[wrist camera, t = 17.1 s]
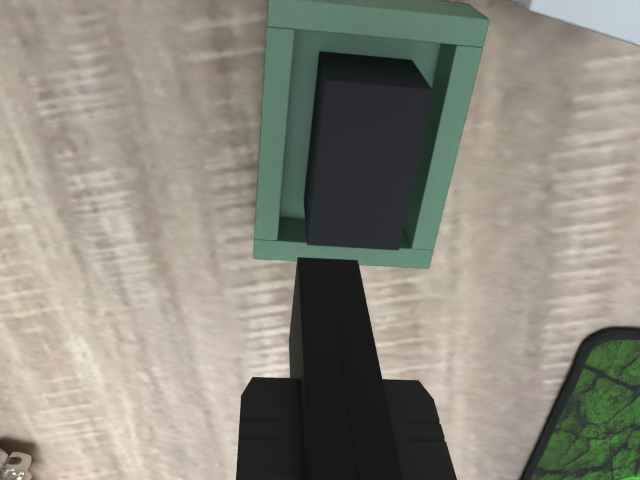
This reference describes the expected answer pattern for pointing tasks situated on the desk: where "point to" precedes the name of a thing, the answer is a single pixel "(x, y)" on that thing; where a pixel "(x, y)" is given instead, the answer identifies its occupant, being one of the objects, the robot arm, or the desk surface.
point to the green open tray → (298, 99)
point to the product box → (593, 15)
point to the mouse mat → (595, 415)
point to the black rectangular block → (363, 149)
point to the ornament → (14, 466)
